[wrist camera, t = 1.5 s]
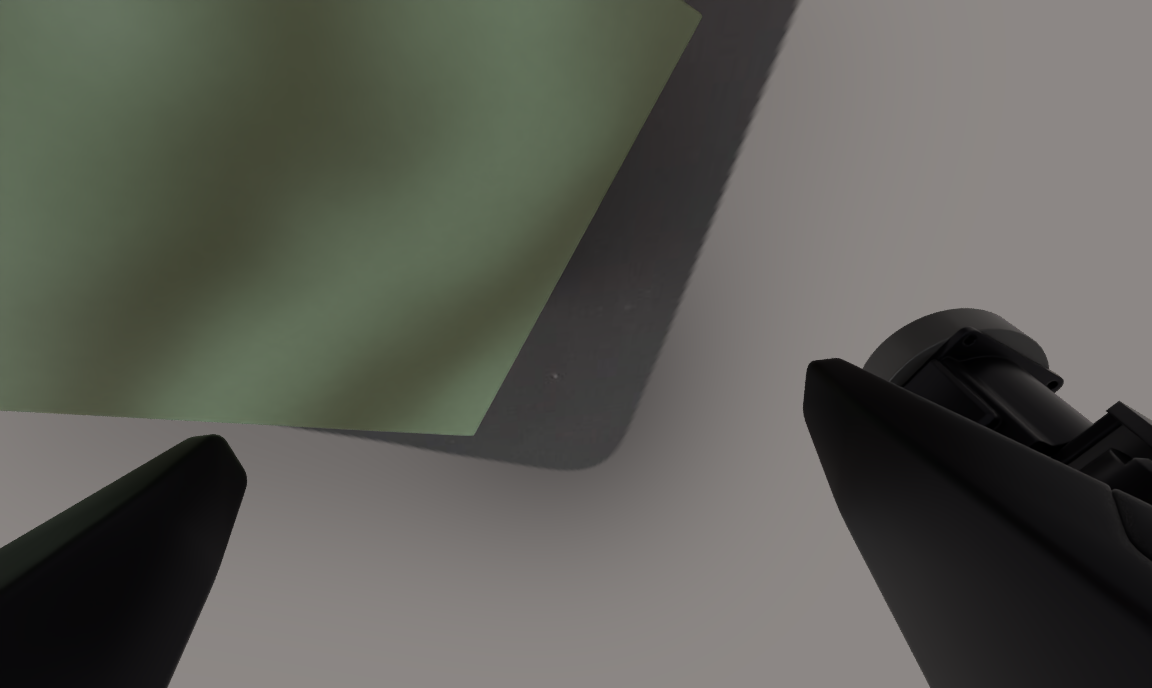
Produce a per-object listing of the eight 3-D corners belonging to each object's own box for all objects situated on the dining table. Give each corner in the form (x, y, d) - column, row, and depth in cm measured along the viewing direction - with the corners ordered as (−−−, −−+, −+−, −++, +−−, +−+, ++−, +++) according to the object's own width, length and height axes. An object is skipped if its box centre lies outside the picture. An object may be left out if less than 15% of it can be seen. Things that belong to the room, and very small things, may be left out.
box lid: (-448, 347, 8) (-503, 385, 7) (-1429, -1503, 3) (-1892, -1865, 2) (467, 416, 16) (473, 437, 16) (683, 6, 11) (704, 15, 10)
